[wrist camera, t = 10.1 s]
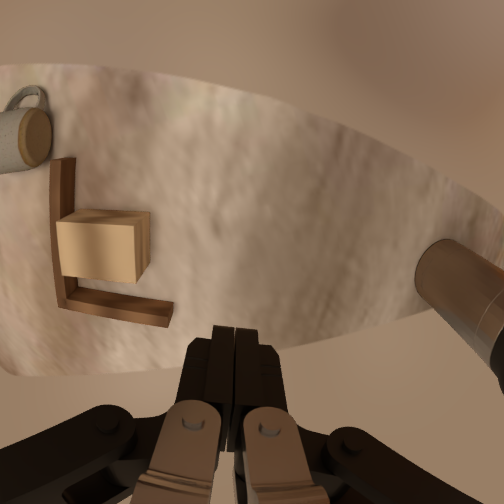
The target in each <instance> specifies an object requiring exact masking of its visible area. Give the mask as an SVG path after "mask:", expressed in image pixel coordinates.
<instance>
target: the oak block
mask: <svg viewBox="0 0 504 504" xmlns="http://www.w3.org/2000/svg"><path fill="white" fill-rule="evenodd" d="M56 228H57V239H58V249H59V257H60V265H61V272H62V275H63V276H71V277H80V278H88V279H97V280H106V281H115V282H124V283H134V284H136V283H137V281H138V280H139V278H140V277H141V275H142V274H143V272H144V271H145V269H146V268H147V266H148V265H149V263H150V212H138V211H118V210H95V209H79V210H77V211H75V212H74V213H72V214H70V215H68V216H66V217H64V218H62V219H60V220H58V221H56Z"/></svg>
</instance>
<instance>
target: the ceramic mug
mask: <svg viewBox="0 0 504 504" xmlns="http://www.w3.org/2000/svg"><path fill="white" fill-rule="evenodd" d="M31 94H35V95H38V96H39V97H38V102H37V105H36V108H33V107H27V108H21V109H17V110H13V109H14V108H15V106H16V105H17V103H18V102H19V101H20V100H21V99H22V98H23V97H24V96H26V95H31ZM44 106H45V95H44V93H43V91H42V90H41V89H40V88H39V87H37V86H34V85H30V86H26V87H23V88H21V89H20V90H18V91H17V92H16V93H15V94H14V95H13V96H12V98H11V99H10V100H9V102H8V103H7V105H6V107H5V109H4V111H3V112H1V113H0V174H6V173H12V172H17V171H25V170H30V169H32V168H35V167H37V166H39V165H41V164H42V163H43V161H44V160H45V159H46V157H47V155H48V152H49V149H50V146H51V137H52V134H51V125H50V121H49V119H48V117H47V115H46V114H45V112H44V111H43V109H44Z"/></svg>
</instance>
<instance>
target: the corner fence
mask: <svg viewBox="0 0 504 504" xmlns="http://www.w3.org/2000/svg"><path fill="white" fill-rule="evenodd" d="M75 164H76V158H60V159H54V160H50V186H49V205H50V235H51V250H52V262H53V272H54V280H55V288H56V296H57V302H58V307H59V308H63V309H68V310H72V311H77V312H82V313H86V314H91V315H96V316H101V317H106V318H112V319H117V320H122V321H128V322H134V323H140V324H146V325H152V326H158V327H165V328H168V326H169V323H170V320H171V317H172V314H173V302H168V301H161V300H154V299H147V298H141V297H135V296H128V295H122V294H116V293H110V292H105V291H99V290H93V289H88V288H83V287H78V282H77V277H71V276H63V275H62V272H61V265H60V257H59V249H58V239H57V228H56V221H58V220H60V219H62V218H64V217H66V216H68V215H70V214H72V213H74V187H75Z"/></svg>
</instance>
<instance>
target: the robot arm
mask: <svg viewBox="0 0 504 504" xmlns="http://www.w3.org/2000/svg"><path fill="white" fill-rule="evenodd" d="M415 284H416V288H417V291H418V293H419V294H420V295H421V297H423V298H424V299H425V300H426V301H427V302H428V303H429V304H430V305H431V306H432V307H433V308H434V310H436V312H437V313H438V314H440V316H441V317H442V318H443V319H444V320H445V321H447V322H448V324H449V325H450V326H451V327H452V328H453V329H454V330H455V331H456V332H457V333H458V334H459V335H460V336H461V337H462V338H463V339H464V340H465V341H466V342H467V344H469V346H470V347H471V348H472V349H473V350H474V351H475V352H476V353H477V354H478V355H479V356H480V358H481V359H482V360H483V361H484V362H485V363H486V364H487V365H488V367H489V368H490V369H491V370H492V371H493V372H494V374H495V375H496V376H497V378H498V381H499V385H500V388H501V390H502V393H503V394H504V271H503V270H502V269H500V268H499V267H497V266H495V265H494V264H492V263H491V262H489V261H488V260H486V259H484V258H483V257H481V256H479V255H478V254H476V253H474V252H473V251H471V250H470V249H468V248H466V247H464V246H463V245H461V244H459V243H457V242H456V241H454V240H450V239H447V240H441V241H438V242H437V243H435V244H433V245H432V246H431V247H430V248H429V249H428V250H427V251H426V252H425V253H424V255H423V256H422V258H421V260H420V261H419V264H418V266H417V270H416V274H415ZM234 329H235V328H234V327H227V326H218V325H213V331H212V339H205V338H197V337H196V338H195V339H194V340H193V341H192V342H191V343H190V344H189V345H188V348H187V352H186V356H185V361H184V365H183V369H182V374H181V378H180V383H179V387H178V392H177V397H176V400H175V403H174V405H173V406H172V407H171V408H170V409H169V410H168V411H167V412H165V413H164V414H162V415H159V416H155V417H149V418H133V417H132V415H131V414H130V413H129V412H128V411H126V410H125V409H123V408H121V407H119V406H115V405H100V406H96V407H94V408H92V409H89V410H87V411H85V412H83V413H81V414H79V415H77V416H75V417H73V418H71V419H68V420H66V421H64V422H62V423H60V424H58V425H56V426H53V427H51V428H49V429H47V430H44V431H42V432H40V433H37V434H35V435H33V436H31V437H28V438H26V439H24V440H21V441H19V442H16V443H14V444H12V445H9V446H7V447H4V448H2V449H0V504H117V503H119V502H120V501H122V500H123V499H125V498H127V497H128V496H130V495H131V494H133V495H132V498H131V501H130V504H210V499H211V492H212V486H213V479H214V473H215V471H216V469H217V466H218V460H219V453H220V451H223V452H224V451H225V445H226V439H227V452H234V468H233V485H234V497H235V504H483V503H481V502H479V501H477V500H475V499H474V498H472V497H470V496H468V495H466V494H464V493H462V492H461V491H459V490H457V489H455V488H454V487H452V486H450V485H449V484H447V483H445V482H443V481H442V480H440V479H438V478H437V477H435V476H433V475H432V474H430V473H428V472H427V471H425V470H423V469H422V468H420V467H418V466H417V465H415V464H414V463H412V462H411V461H409V460H407V459H406V458H404V457H403V456H401V455H400V454H398V453H396V452H395V451H393V450H392V449H391V448H389V447H387V446H386V445H385V444H383V443H382V442H380V441H378V440H377V439H376V438H374V437H373V436H371V435H370V434H368V433H367V432H365V431H363V430H361V429H359V428H355V427H341V428H338V429H336V430H335V431H333V432H332V433H331V434H330V435H325V434H320V433H316V432H312V431H309V430H306V429H304V428H302V427H300V426H299V425H297V424H296V422H295V420H294V419H293V417H292V416H291V415H289V413H288V410H287V404H286V397H285V391H284V385H283V378H282V372H281V368H280V367H281V365H280V359H279V355H278V354H277V352H276V351H275V350H274V348H273V347H272V346H271V345H261V344H259V342H258V331H257V330H255V329H245V328H236V330H235V337H234Z"/></svg>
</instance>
